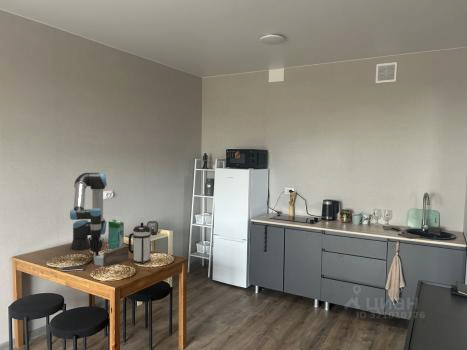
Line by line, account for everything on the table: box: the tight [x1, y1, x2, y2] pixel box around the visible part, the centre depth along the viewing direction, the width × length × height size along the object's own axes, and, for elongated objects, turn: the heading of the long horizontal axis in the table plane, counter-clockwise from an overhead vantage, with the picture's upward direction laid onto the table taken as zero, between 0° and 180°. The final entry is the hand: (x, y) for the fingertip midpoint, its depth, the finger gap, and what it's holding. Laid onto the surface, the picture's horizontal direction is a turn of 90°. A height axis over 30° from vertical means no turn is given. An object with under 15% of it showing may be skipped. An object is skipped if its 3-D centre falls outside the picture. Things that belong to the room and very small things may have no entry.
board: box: [102, 245, 129, 267], centre depth 262 cm, size 4×22×10 cm, turn 156°
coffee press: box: [128, 222, 152, 264], centre depth 265 cm, size 17×16×30 cm
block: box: [93, 253, 104, 267], centre depth 259 cm, size 8×10×6 cm
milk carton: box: [107, 219, 125, 249], centre depth 295 cm, size 9×9×25 cm
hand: (95, 260), depth 263 cm, fingers closed
